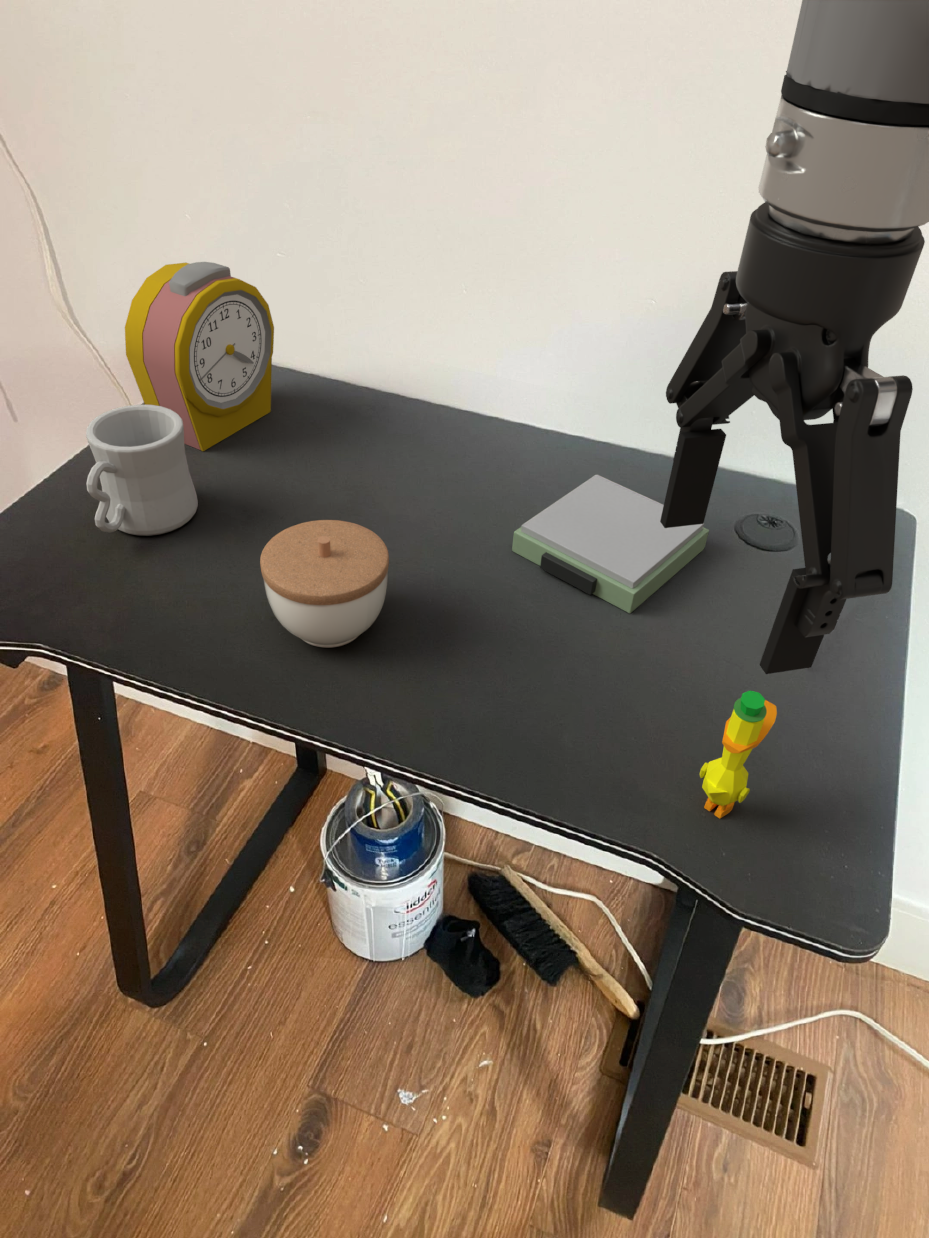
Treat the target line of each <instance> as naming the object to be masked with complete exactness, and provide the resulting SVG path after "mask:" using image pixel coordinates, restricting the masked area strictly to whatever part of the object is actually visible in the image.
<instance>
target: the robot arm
mask: <svg viewBox="0 0 929 1238" xmlns="http://www.w3.org/2000/svg"><path fill="white" fill-rule="evenodd" d="M779 98H780V99H779V103H778V107H777V111H776V115H775V117H774V123H773V126H772V131H771V132H770V134H769V135H768V136H767V138H766V140H765V145H764V147H765V152H766V155H765V160H764V163H763V168H762V171H761V175H760V179H759V184H758V187H757V188H758V193H759V195H760V197H761V198H762V200H763V203H761V204H760V205H759V206H758V207H757V208H756V209H754V210H753V211H752V212H751V214H750V217H749V221H748V225H747V229H746V233H745V239H744V242H743V245H742V250H741V254H740V259H739V263H738V267H737V270H734V271H731V270H730V271H722V273H721V274H720V275H719V276H720V277H719V280H718V282H717V287H716V290H715V293H714V297H713V300H712V303H711V307H710V309H709V311H708V313H707V314H706V316H705V318H704V320H703V321H702V323H701V325H700V326H699V329H698V331H697V332H696V334H695V336H694V337H693V339H692V341H691V343H690V345H689V346H688V348H687V350H686V352H685V354H684V355H683V357H682V359H681V361H680V362H679V364H678V366H677V368H676V370H675V371H674V373H673V375H672V377H671V378H670V381H669V382H668V383H667V386H666V391H665V398H666V400H667V403H668V404H676V407H677V409H676V414H675V420H676V424H677V427H679V432H678V437H677V441H676V446H675V451H674V454H673V459H672V460H673V461H672V465H671V470H670V475H669V479H668V484H667V488H666V493H665V498H664V504H663V505H664V506H663V511H662V515H661V520H660V522H661V524H662V525H663V526H664V528H671V527H680V526H689V525H698V524H703V523H704V524H705V519H706V515H707V511H708V507H709V504H710V501H711V500H710V499H711V496H712V492H713V487H714V484H715V480H716V478H717V477H716V476H717V473H718V469H719V465H720V462H721V457H722V453H723V449H724V445H725V442H726V438H727V434H726V432H725V431H724V430H723V429H722V428H713V426H717V425H725V424H726V425H727V424H731V420H730V416H731V415H732V414H733V413H735V411H737V410H738V409H739V408H741V407H742V406H743V405H745V404H746V403H747V402H748V401H749V400H750V399H752V398H754V397H755V398H756V399H757V400H759V401H762V402H764V403H766V404H767V406H768V408H769V409H770V411H771V413H772V415H773V416H775V418H776V419H777V420H778V421H779V429H780V437H781V440H782V441H781V442H783V444H784V445H786V446H788V447H789V448H790V449H791V452H792V461H793V470H794V478H795V479H794V480H795V488H796V489H795V490H796V497H797V506H798V515H799V516H798V517H799V524H800V533H801V543H802V550H803V562H804V567H800V568H792V570H791V574H790V576H789V578H788V581H787V585H786V586H785V589H784V593H783V596H782V599H781V601H780V605H779V607H778V610H777V614H776V616H775V619H774V620H773V621H774V622H773V624H772V628H771V629H770V630H771V631H770V632H769V635H768V639H767V642H766V644H765V647H764V650H763V653H762V656H761V659H760V661H759V666H760V668H761V670H762V671H763V673H764V674H765V675H770V674H776V673H777V674H778V673H783V672H790V671H797V670H804V669H811V668H812V667H813V664H814V662H815V659H816V656H817V655H818V652H819V650H820V646H821V644H822V642H823V639H824V637H825V635H830V634H831V633H832V632H833V631H834V630H836V629H835V628H836V627H837V624H838V620H839V619H840V616H841V614H842V612H843V609H844V606H845V604H846V601H847V599H856V598H862V597H863V598H864V597H870V596H877V595H885V594H888V593H889V592H890V591H891V589H892V587H893V579H894V577H893V575H894V561H895V560H894V558H895V541H896V521H897V520H896V519H897V506H898V505H897V504H898V503H897V502H898V485H899V484H898V483H899V467H900V449H901V448H900V447H901V434H902V433H901V432H902V428H903V425H904V421H905V419H906V415H907V412H908V408H909V405H910V402H911V398H912V395H913V391H914V390H913V389H914V388H913V382H912V380H911V378H910V377H908V376H907V375H891V376H883V375H881V374H879V373H878V372H877V371H874V370H872V369H871V368H869V353H870V348H871V347H870V346H871V341H872V338H873V336H874V335H875V334H876V333H877V331H879V330H880V329H881V328H882V327H884V325H885V324H887V322H889V321H890V320H892V319H893V318H894V317H895V316H896V315H898V313H899V312H900V311H901V309H902V306H903V304H904V301H905V299H906V296H907V293H908V290H909V288H910V286H911V285H910V284H911V282H912V279H913V276H914V274H915V272H916V268H917V265H918V263H919V260H920V257H921V254H922V252H923V249H924V246H925V243H926V240H925V237H924V236H923V232H922V229H921V228H920V227H922V226H925V225H926V224H928V223H929V0H801V4H800V8H799V13H798V17H797V23H796V27H795V31H794V36H793V40H792V46H791V50H790V55H789V58H788V63H787V67H786V70H785V74H784V75H783V81H782V85H781V89H780V97H779ZM831 410H832V417H833V418H832V419H833V420H832V422H828V423H827V422H826V423H816V424H815V423H814V424H809V423H807V422H805V421H811V420H817V419H820V418H822V417H825V415H827V414H828V413H829V412H830V411H831ZM829 555H830V559H829Z"/></svg>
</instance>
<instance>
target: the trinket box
mask: <svg viewBox="0 0 929 1238" xmlns="http://www.w3.org/2000/svg"><path fill="white" fill-rule="evenodd" d="M259 560H260V561H259V564H260V565H259V566H260V571H261V576H262V578H263V584H264V589H265V595H266V598H267V602H268V604H269V606H270V608H271V611H272V613H273V615H274V617H275V618H276V619H277V621H278V623H279V624H280V625H281V626H282V627H283V628H284V629H285V630H286V631H287V632H289V634H291V635H293V636H294V637H296V638H298V639H300V640H302V641H303V642H304V643H306V644H308V645H311V646H314V647H318V648H337V647H342V646H344V645H347V644H349V643H352V642H353V641H354V640H356V639H357V638H358V637H359V636H360V635H361V634H363V633H364V632H366V631H367V630H368V629H369V628H371V626H372V625H373V624H374V623H375V622H376V620H377V618H378V617H379V615H380V613H381V611H382V608H383V606H384V603H385V600H386V595H387V588H388V579H389V573H388V572H389V567H390V556H389V549H388V547H387V544H385V542H384V541H383V539H382V538H381V537H380V536H379V535H378V534H376V533H375V532H374V531H372V530H371V529H369V528H367V527H365V526H362V525H360V524H358V523H354V522H350V521H345V520H340V519H339V520H338V519H318V520H310V521H305V522H301V523H298V524H296V525H292V526H289V527H287V528H285V529H283V530H281V531H280V532H278V533H277V534H275V535H274V536H273V537H271V539H269V541H268V542H267V543H266V545H265V546H264V548H263V549H262V551H261V554H260V559H259Z"/></svg>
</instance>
